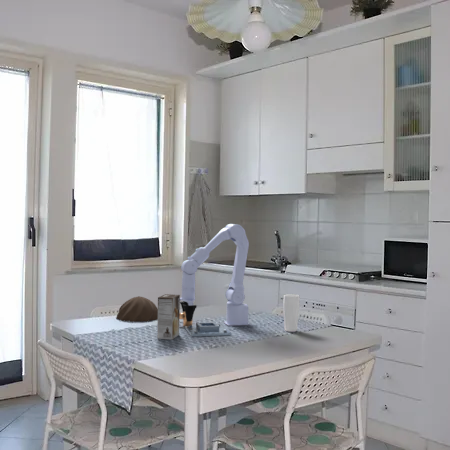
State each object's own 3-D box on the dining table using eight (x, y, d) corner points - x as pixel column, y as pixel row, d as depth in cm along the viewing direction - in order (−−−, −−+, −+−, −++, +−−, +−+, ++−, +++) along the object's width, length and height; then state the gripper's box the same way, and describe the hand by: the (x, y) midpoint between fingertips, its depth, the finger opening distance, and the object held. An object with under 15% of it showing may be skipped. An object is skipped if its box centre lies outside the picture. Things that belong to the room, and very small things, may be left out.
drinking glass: (280, 331, 231) (280, 295, 230) (286, 328, 237) (286, 293, 236) (295, 333, 227) (296, 296, 227) (301, 330, 233) (302, 294, 233)
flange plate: (222, 327, 236) (222, 320, 236) (231, 335, 221) (231, 327, 221) (185, 328, 233) (185, 321, 233) (191, 336, 217) (191, 329, 217)
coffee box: (164, 333, 221) (164, 293, 221) (179, 334, 220) (180, 294, 220) (156, 338, 212) (157, 297, 212) (172, 339, 211) (173, 297, 211)
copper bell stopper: (191, 324, 241) (191, 311, 240) (193, 326, 237) (193, 312, 237) (177, 325, 239) (178, 311, 239) (179, 327, 235) (179, 312, 235)
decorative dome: (132, 312, 267) (132, 292, 267) (167, 316, 259) (168, 295, 259) (107, 319, 250) (108, 297, 249) (144, 323, 241) (145, 301, 241)
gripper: (176, 285, 244) (176, 316, 244) (181, 290, 230) (181, 323, 230) (192, 285, 246) (191, 316, 246) (198, 290, 231) (197, 322, 232)
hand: (187, 319), depth 238 cm, fingers open, 7 cm apart
